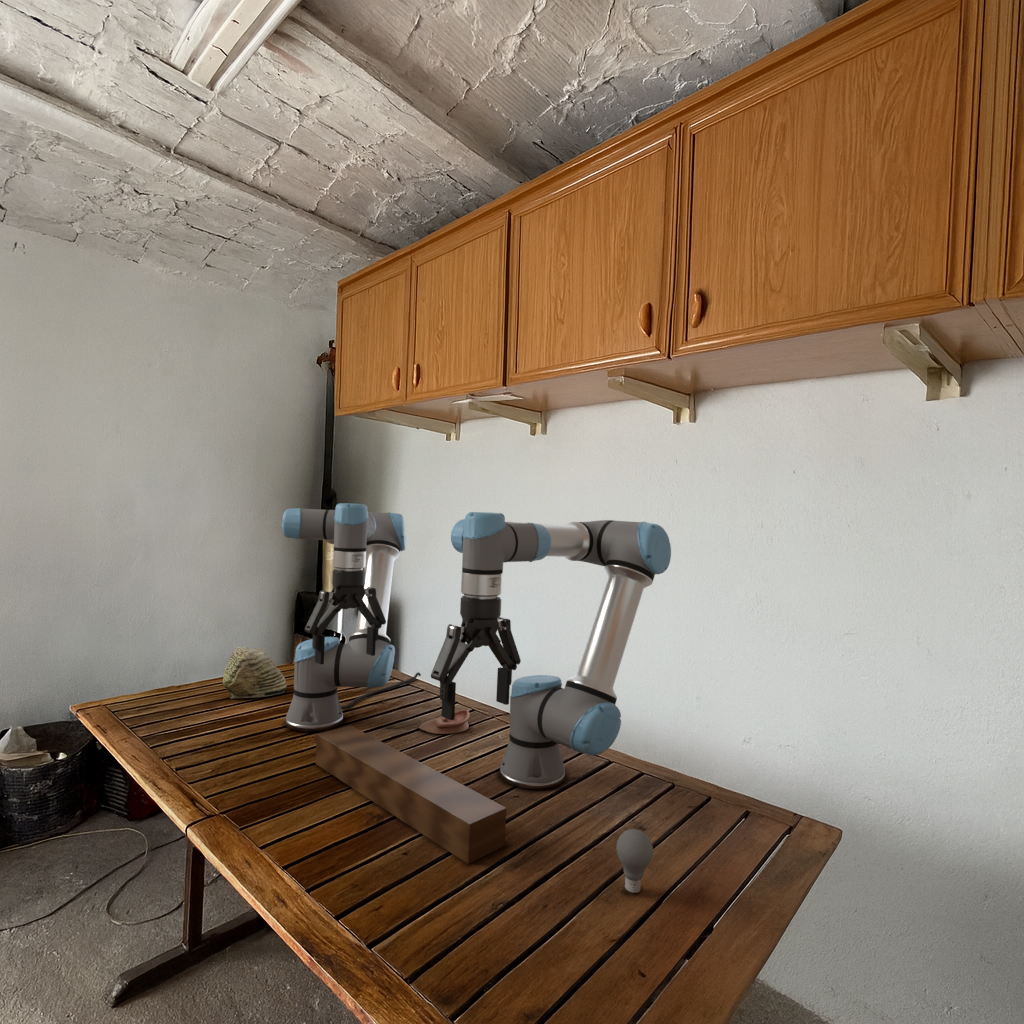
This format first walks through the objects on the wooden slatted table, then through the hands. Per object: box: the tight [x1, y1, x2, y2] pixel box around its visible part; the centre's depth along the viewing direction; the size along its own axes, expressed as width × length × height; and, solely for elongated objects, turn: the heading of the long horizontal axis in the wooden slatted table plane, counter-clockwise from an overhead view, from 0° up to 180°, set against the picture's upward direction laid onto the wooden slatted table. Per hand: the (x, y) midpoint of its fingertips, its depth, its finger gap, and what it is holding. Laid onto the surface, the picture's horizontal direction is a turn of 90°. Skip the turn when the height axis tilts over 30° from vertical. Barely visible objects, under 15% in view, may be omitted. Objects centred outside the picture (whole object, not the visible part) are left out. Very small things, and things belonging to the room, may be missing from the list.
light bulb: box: [615, 828, 654, 894], centre depth 106 cm, size 6×6×10 cm
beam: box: [315, 725, 507, 865], centre depth 134 cm, size 55×9×7 cm, turn 46°
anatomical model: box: [418, 709, 471, 735], centre depth 177 cm, size 13×4×12 cm
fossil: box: [222, 646, 288, 699], centre depth 198 cm, size 9×18×15 cm, turn 132°
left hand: (345, 658), depth 149 cm, fingers open, 13 cm apart
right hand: (476, 710), depth 117 cm, fingers open, 13 cm apart
